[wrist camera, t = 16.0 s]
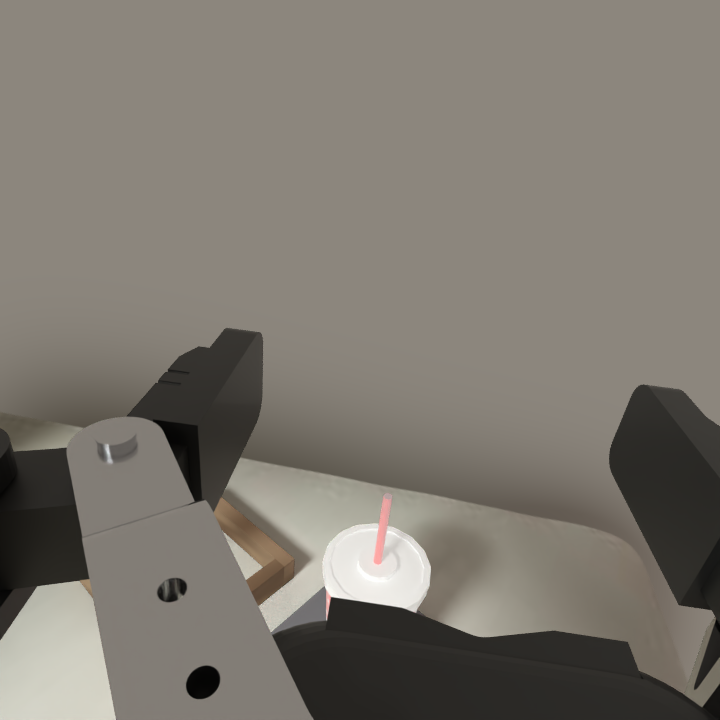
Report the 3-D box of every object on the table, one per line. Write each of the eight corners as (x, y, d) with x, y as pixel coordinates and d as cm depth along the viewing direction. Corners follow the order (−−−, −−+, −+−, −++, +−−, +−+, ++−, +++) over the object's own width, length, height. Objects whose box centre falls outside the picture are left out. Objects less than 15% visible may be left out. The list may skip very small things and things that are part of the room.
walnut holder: (76, 576, 37) (71, 557, 36) (207, 501, 45) (206, 484, 44) (159, 685, 31) (156, 664, 30) (293, 577, 39) (294, 558, 38)
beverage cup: (390, 731, 30) (429, 561, 23) (296, 684, 31) (307, 514, 25) (420, 640, 35) (458, 480, 28) (338, 604, 37) (356, 446, 30)
